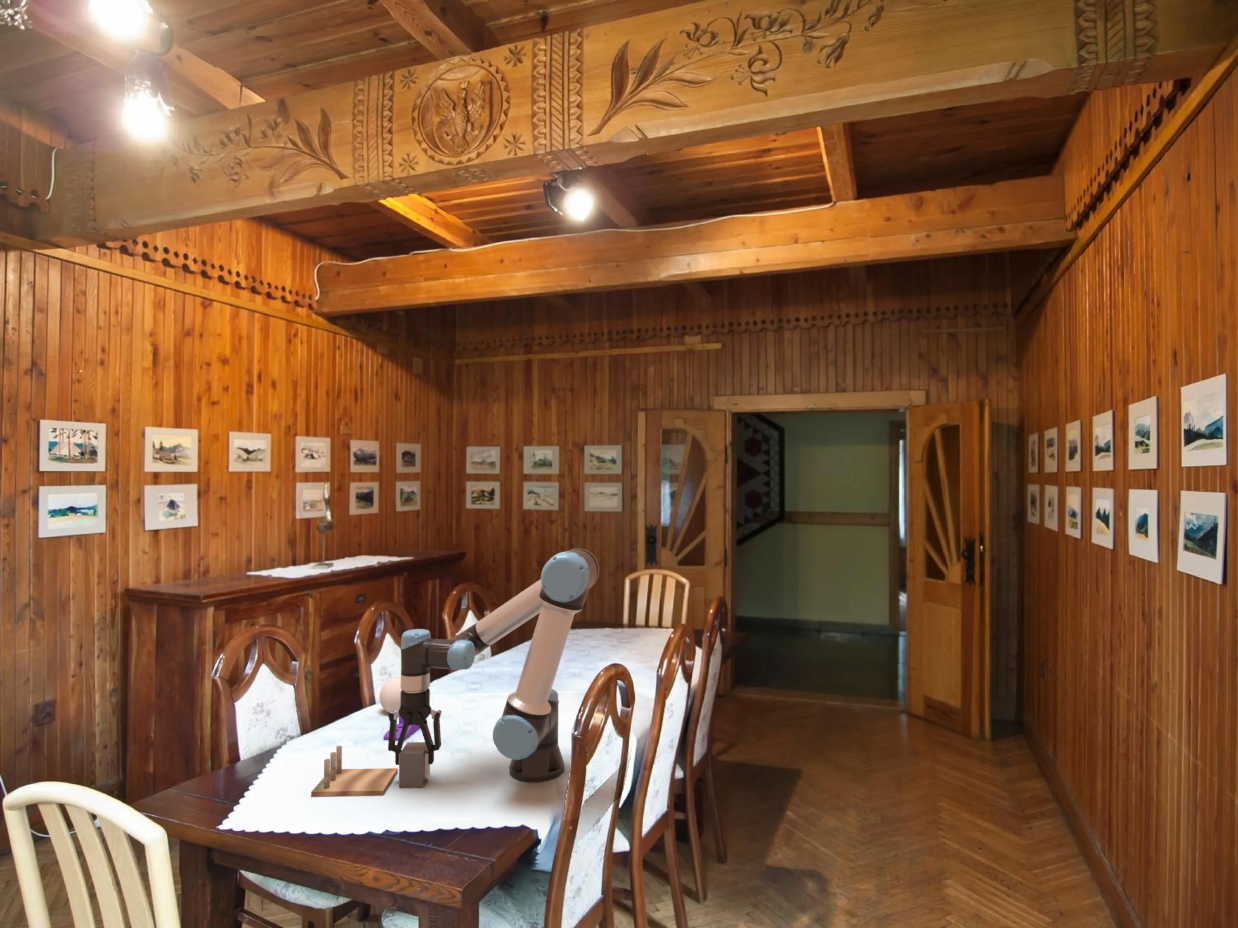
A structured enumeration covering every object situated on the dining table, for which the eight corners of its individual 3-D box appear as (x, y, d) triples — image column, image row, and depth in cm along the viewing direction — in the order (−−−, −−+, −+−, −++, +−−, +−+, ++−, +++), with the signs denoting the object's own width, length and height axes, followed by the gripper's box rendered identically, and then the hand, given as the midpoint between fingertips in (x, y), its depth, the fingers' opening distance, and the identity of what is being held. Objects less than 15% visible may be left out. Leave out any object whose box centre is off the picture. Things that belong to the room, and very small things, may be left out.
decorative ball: (415, 706, 253) (415, 672, 254) (416, 716, 242) (416, 681, 242) (379, 709, 250) (379, 674, 250) (379, 720, 238) (379, 684, 239)
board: (397, 772, 197) (397, 742, 197) (383, 795, 183) (383, 762, 183) (330, 773, 196) (331, 743, 196) (311, 796, 182) (311, 763, 182)
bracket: (401, 728, 232) (401, 707, 232) (421, 729, 231) (421, 708, 231) (383, 741, 220) (383, 719, 220) (404, 743, 219) (404, 720, 219)
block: (429, 775, 195) (429, 741, 195) (422, 788, 187) (422, 753, 187) (406, 775, 195) (407, 742, 195) (399, 788, 187) (399, 753, 187)
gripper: (453, 684, 195) (453, 769, 195) (383, 685, 195) (382, 770, 194) (448, 692, 188) (448, 781, 187) (374, 693, 187) (374, 782, 187)
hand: (414, 775), depth 191 cm, fingers closed on block, 6 cm apart
